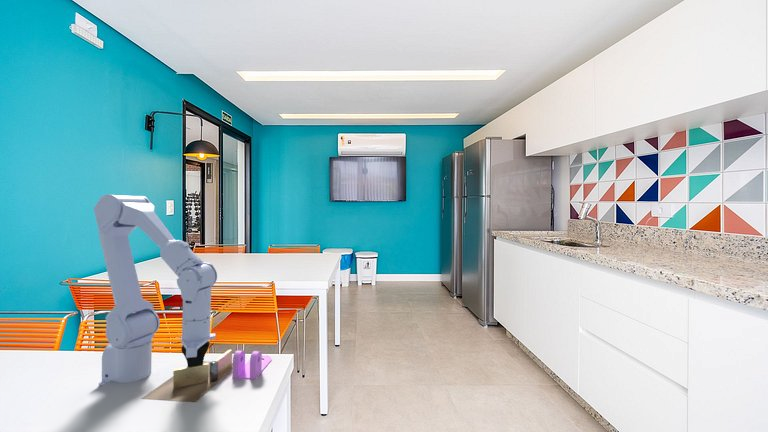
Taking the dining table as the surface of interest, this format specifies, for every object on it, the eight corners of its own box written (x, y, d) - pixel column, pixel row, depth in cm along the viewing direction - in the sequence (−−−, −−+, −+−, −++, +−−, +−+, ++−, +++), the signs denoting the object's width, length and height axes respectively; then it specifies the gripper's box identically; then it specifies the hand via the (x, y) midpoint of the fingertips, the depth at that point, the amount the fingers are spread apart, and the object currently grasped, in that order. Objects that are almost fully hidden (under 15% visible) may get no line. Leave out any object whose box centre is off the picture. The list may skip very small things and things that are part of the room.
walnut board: (141, 403, 76) (141, 398, 76) (195, 364, 95) (195, 360, 95) (195, 406, 76) (195, 402, 75) (239, 367, 94) (239, 363, 94)
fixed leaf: (207, 381, 84) (208, 363, 84) (227, 365, 93) (227, 349, 93) (215, 382, 84) (215, 364, 84) (233, 366, 93) (234, 349, 93)
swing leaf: (173, 387, 81) (173, 369, 81) (207, 379, 85) (208, 362, 85) (173, 388, 80) (173, 370, 80) (208, 381, 84) (208, 364, 84)
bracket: (255, 384, 86) (255, 354, 86) (232, 382, 86) (232, 354, 86) (274, 361, 99) (274, 335, 99) (254, 360, 99) (254, 334, 99)
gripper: (212, 326, 78) (211, 388, 78) (218, 307, 91) (216, 360, 92) (175, 329, 75) (173, 393, 76) (186, 308, 89) (185, 363, 89)
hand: (195, 375), depth 84 cm, fingers closed, pressing on swing leaf
